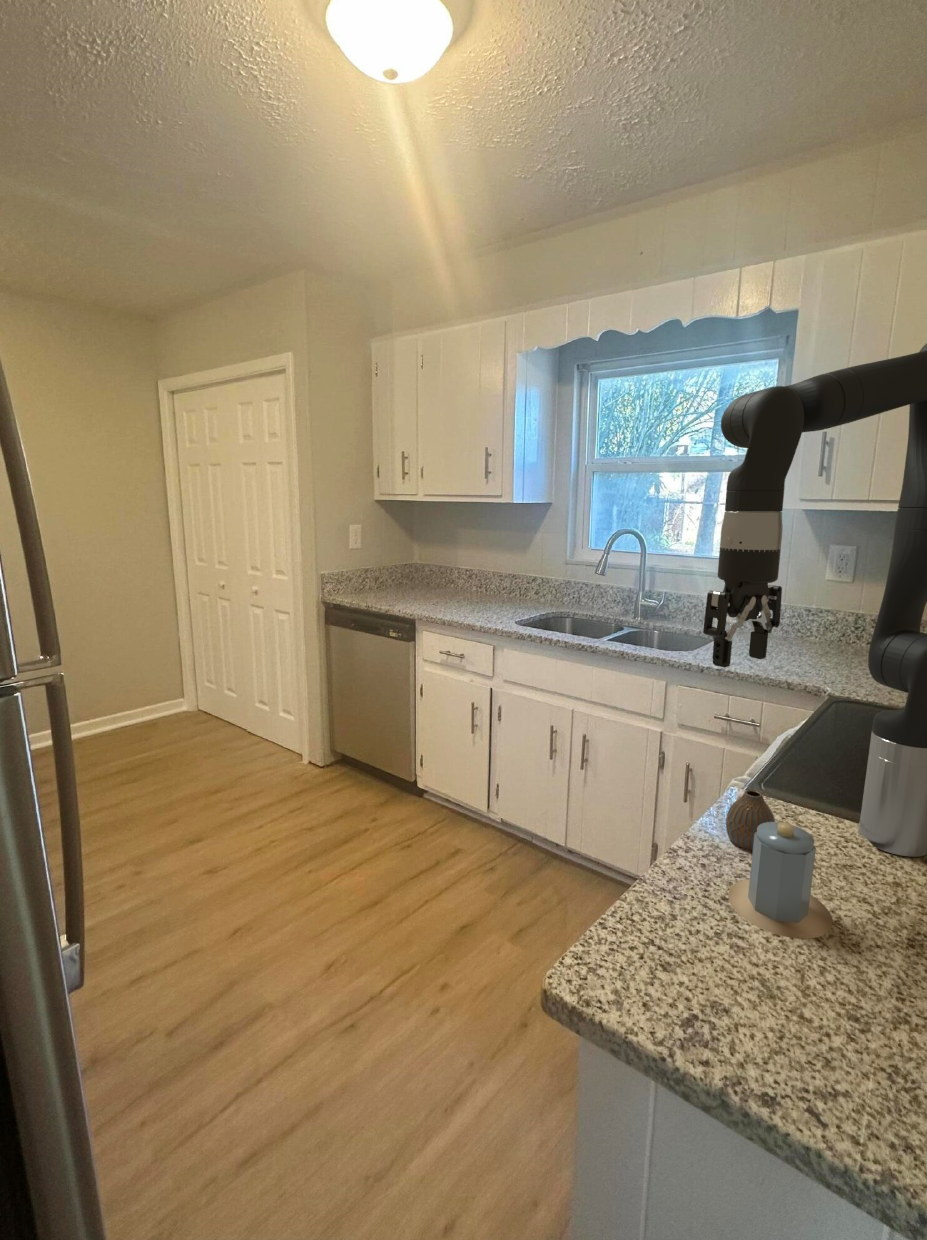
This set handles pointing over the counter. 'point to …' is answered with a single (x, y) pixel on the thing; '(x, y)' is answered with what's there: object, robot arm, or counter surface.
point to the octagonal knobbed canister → (781, 871)
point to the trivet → (808, 927)
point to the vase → (747, 818)
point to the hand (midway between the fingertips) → (739, 662)
